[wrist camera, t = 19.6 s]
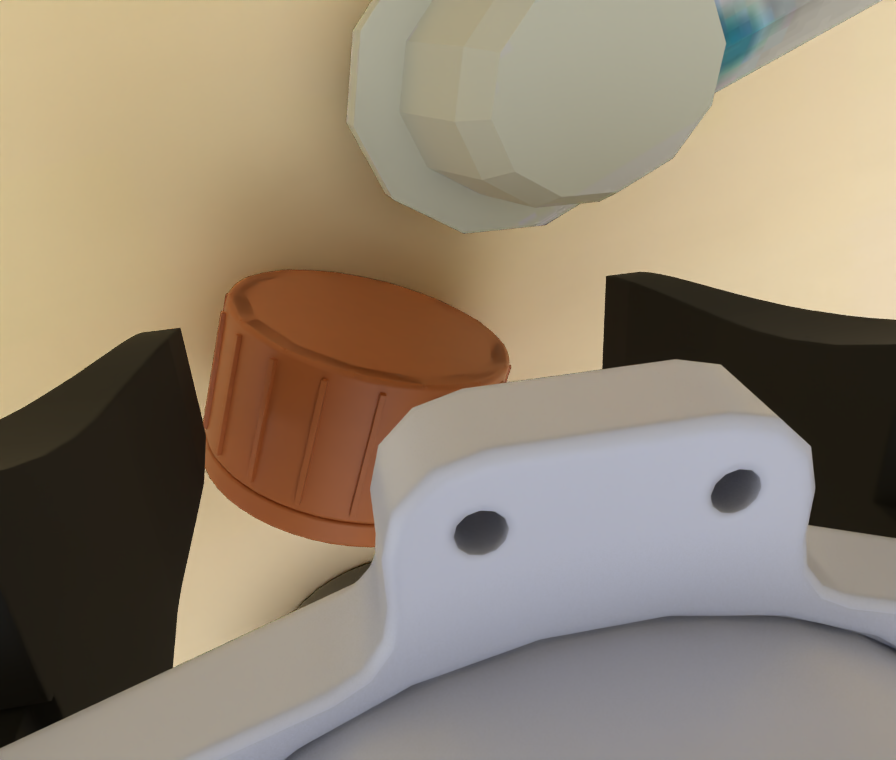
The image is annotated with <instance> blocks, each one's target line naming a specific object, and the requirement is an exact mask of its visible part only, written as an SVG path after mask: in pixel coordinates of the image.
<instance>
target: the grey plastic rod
mask: <svg viewBox="0 0 896 760" xmlns="http://www.w3.org/2000/svg"><path fill="white" fill-rule="evenodd" d="M880 1H882V0H372V1H371V3H370V4H369V6H368V7H367V9H366V10H365V12H364V14H363V15H362V17H361V18H360V20H359V21H358V23H357V25H356V26H355V28H354V29H353V35H352V50H351V64H350V78H349V92H348V106H347V120H346V123H347V125H348V127H349V128H350V130H351V132H352V134H353V136H354V138H355V139H356V141H357V143H358V145H359V147H360V148H361V150H362V152H363V154H364V156H365V158H366V159H367V161H368V163H369V165H370V167H371V169H372V170H373V172H374V174H375V176H376V178H377V179H378V181H379V183H380V185H381V187H382V189H383V190H384V192H385V193H386V194H387V195H388V196H389V197H391V198H392V199H393V200H395V201H397V202H399V203H401V204H403V205H405V206H408V207H410V208H412V209H414V210H416V211H418V212H420V213H422V214H424V215H426V216H428V217H430V218H433V219H435V220H437V221H439V222H441V223H443V224H445V225H447V226H449V227H451V228H453V229H455V230H457V231H460V232H462V233H464V234H465V233H474V232H484V231H493V230H503V229H513V228H522V227H532V226H541V225H546V224H548V223H549V222H551V221H553V220H554V219H556V218H558V217H559V216H561V215H563V214H564V213H566V212H567V211H569V210H571V209H572V208H574V207H576V206H577V205H579V204H580V203H590V202H600V201H602V200H603V199H605V198H607V197H609V196H611V195H613V194H615V193H617V192H619V191H621V190H622V189H624V188H626V187H627V186H629V185H630V184H632V183H634V182H635V181H637V180H639V179H640V178H642V177H643V176H645V175H647V174H648V173H650V172H652V171H653V170H655V169H656V168H658V167H660V166H661V165H663V164H665V163H666V162H668V161H669V160H671V159H673V157H674V156H675V155H676V153H677V152H678V151H679V149H680V148H681V146H682V145H683V144H684V142H685V141H686V140H687V138H688V137H689V136H690V134H691V133H692V131H693V130H694V129H695V127H696V126H697V125H698V123H699V122H700V120H701V119H702V118H703V116H704V115H705V114H706V112H707V111H708V109H709V108H710V107H711V105H712V102H713V97H714V93H716V92H718V91H719V90H721V89H723V88H725V87H727V86H728V85H730V84H732V83H734V82H736V81H737V80H739V79H741V78H743V77H745V76H746V75H748V74H750V73H752V72H754V71H755V70H757V69H759V68H761V67H763V66H764V65H766V64H768V63H770V62H772V61H773V60H775V59H777V58H779V57H781V56H782V55H784V54H786V53H788V52H790V51H792V50H793V49H795V48H797V47H799V46H801V45H802V44H804V43H806V42H808V41H810V40H811V39H813V38H815V37H817V36H819V35H820V34H822V33H824V32H826V31H828V30H829V29H831V28H833V27H835V26H837V25H838V24H840V23H842V22H844V21H846V20H847V19H849V18H851V17H853V16H855V15H856V14H858V13H860V12H862V11H864V10H865V9H867V8H869V7H871V6H873V5H874V4H876V3H878V2H880Z"/></svg>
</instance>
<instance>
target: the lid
mask: <svg viewBox="0 0 896 760" xmlns="http://www.w3.org/2000/svg"><path fill="white" fill-rule="evenodd" d="M510 369H511V365H509V356H508V352H507V350H506V348H505V346H504V344H503V343H502V342H501V341H500V339H499V338H498V337H497V336H496V335H495V334H494V333H493V332H492V331H491V330H489V329H488V328H487V327H485V326H484V325H483V324H482V323H481V322H479V321H478V320H476V319H474V318H472V317H471V316H469V315H467V314H465V313H464V312H462V311H460V310H458V309H456V308H454V307H452V306H450V305H448V304H446V303H444V302H442V301H440V300H437V299H435V298H432V297H429V296H427V295H424V294H421V293H419V292H416V291H413V290H410V289H407V288H404V287H400V286H397V285H394V284H391V283H387V282H383V281H378V280H374V279H369V278H365V277H360V276H354V275H349V274H343V273H338V272H336V273H335V272H326V271H314V270H280V271H271V272H265V273H260V274H256V275H252V276H248V277H246V278H245V279H242V280H241V281H239V282H238V283H236V284H235V285H234V286H233V287H232V289H231V290H230V291H229V293H227V294H226V296H225V302H224V308H223V311H221V314H220V320H219V326H218V332H217V339H216V345H215V351H214V357H213V364H212V370H211V376H210V382H209V389H208V395H207V401H206V407H205V414H204V420H203V425H204V429H205V433H206V452H205V468H206V471H207V473H208V475H209V477H210V479H211V480H212V481H213V483H214V484H215V485H216V487H217V488H218V489H219V490H220V491H221V492H222V493H223V494H224V495H225V496H226V497H227V498H228V499H229V500H230V501H231V502H233V503H234V504H235V505H237V506H238V507H239V508H240V509H242V510H243V511H245V512H247V513H248V514H250V515H252V516H253V517H255V518H257V519H259V520H261V521H263V522H265V523H267V524H269V525H271V526H273V527H276V528H278V529H281V530H283V531H286V532H288V533H291V534H294V535H298V536H301V537H304V538H308V539H311V540H316V541H321V542H325V543H330V544H337V545H345V546H356V547H375V537H376V532H375V524H374V516H373V509H372V501H371V493H370V486H371V481H372V476H373V470H374V465H375V460H376V455H377V449H378V445H379V444H380V443H381V442H382V441H383V439H384V438H385V437H386V436H387V435H388V434H389V433H390V432H391V431H392V430H393V428H394V427H395V426H396V425H397V424H398V423H399V422H400V421H401V420H402V419H403V417H404V416H405V415H406V414H407V413H408V412H409V411H410V410H411V409H412V408H413V407H416V406H418V405H421V404H424V403H426V402H429V401H431V400H434V399H437V398H439V397H442V396H444V395H447V394H450V393H452V392H455V391H457V390H460V389H464V388H471V387H478V386H485V385H493V384H500V383H506V382H507V379H508V375H509V372H510Z"/></svg>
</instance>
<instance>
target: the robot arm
mask: <svg viewBox="0 0 896 760" xmlns="http://www.w3.org/2000/svg"><path fill="white" fill-rule="evenodd" d="M205 452H206V433H205V429H204V425H203V421H202V417H201V412H200V408H199V404H198V400H197V396H196V391H195V387H194V383H193V379H192V375H191V370H190V366H189V362H188V358H187V354H186V350H185V345H184V341H183V337H182V333H181V329H180V328H175V329H167V330H159V331H151V332H143V333H139V334H137V335H135V336H133V337H131V338H129V339H128V340H126V341H124V342H123V343H121V344H120V345H118V346H117V347H115V348H114V349H112V350H111V351H110V352H108V353H107V354H105V355H104V356H102V357H101V358H99V359H98V360H97V361H95V362H94V363H92V364H91V365H89V366H88V367H86V368H85V369H84V370H82V371H81V372H79V373H78V374H76V375H75V376H73V377H72V378H70V379H69V380H67V381H65V382H64V383H62V384H61V385H59V386H58V387H56V388H54V389H53V390H51V391H50V392H48V393H46V394H45V395H43V396H42V397H40V398H38V399H37V400H35V401H34V402H32V403H30V404H28V405H27V406H25V407H23V408H21V409H20V410H18V411H16V412H14V413H12V414H10V415H8V416H6V417H4V418H2V419H0V760H896V320H890V319H876V318H865V317H855V316H846V315H839V314H832V313H826V312H819V311H812V310H806V309H800V308H795V307H790V306H785V305H781V304H776V303H772V302H767V301H763V300H758V299H754V298H750V297H746V296H742V295H738V294H734V293H731V292H727V291H723V290H719V289H716V288H712V287H709V286H705V285H701V284H698V283H694V282H690V281H686V280H683V279H679V278H675V277H671V276H666V275H662V274H656V273H649V272H635V273H627V274H619V275H611V276H606V293H605V317H604V342H603V366H602V369H601V370H594V371H587V372H579V373H572V374H565V375H558V376H550V377H543V378H536V379H529V380H521V381H514V382H507V383H500V384H493V385H485V386H478V387H471V388H464V389H460V390H457V391H455V392H452V393H450V394H447V395H444V396H442V397H439V398H437V399H434V400H431V401H429V402H426V403H424V404H421V405H418V406H416V407H413V408H412V409H411V410H410V411H409V412H408V413H407V414H406V415H405V416H404V417H403V419H402V420H401V421H400V422H399V423H398V424H397V425H396V426H395V427H394V428H393V430H392V431H391V432H390V433H389V434H388V435H387V436H386V437H385V438H384V439H383V441H382V442H381V443H380V444H379V445H378V449H377V455H376V460H375V465H374V470H373V476H372V481H371V486H370V493H371V501H372V509H373V516H374V524H375V532H376V537H375V554H374V557H373V560H372V563H371V565H370V567H369V569H368V570H367V571H366V572H365V573H364V574H363V575H362V577H361V578H360V579H359V580H358V581H357V582H355V583H354V584H352V585H350V586H348V587H345V588H343V589H341V590H339V591H337V592H335V593H332V594H330V595H328V596H326V597H324V598H322V599H320V600H317V601H315V602H313V603H311V604H309V605H307V606H305V607H302V608H300V609H298V610H296V611H294V612H292V613H290V614H287V615H285V616H283V617H281V618H279V619H277V620H275V621H272V622H270V623H268V624H266V625H264V626H262V627H260V628H257V629H255V630H253V631H251V632H249V633H247V634H244V635H242V636H240V637H238V638H236V639H234V640H232V641H229V642H227V643H225V644H223V645H221V646H219V647H217V648H214V649H212V650H210V651H208V652H206V653H204V654H202V655H199V656H197V657H195V658H193V659H191V660H189V661H187V662H184V663H182V664H180V665H178V666H176V667H174V668H173V658H174V646H175V634H176V623H177V612H178V605H179V599H180V593H181V587H182V582H183V577H184V573H185V568H186V564H187V559H188V555H189V550H190V546H191V541H192V537H193V532H194V527H195V523H196V518H197V514H198V509H199V504H200V499H201V495H202V490H203V484H204V472H205Z"/></svg>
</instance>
